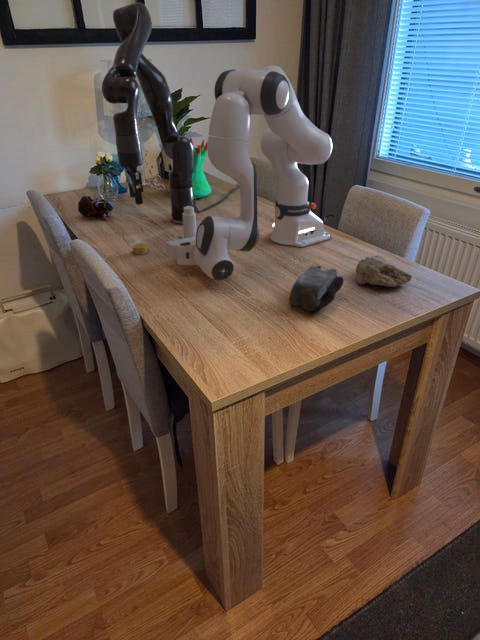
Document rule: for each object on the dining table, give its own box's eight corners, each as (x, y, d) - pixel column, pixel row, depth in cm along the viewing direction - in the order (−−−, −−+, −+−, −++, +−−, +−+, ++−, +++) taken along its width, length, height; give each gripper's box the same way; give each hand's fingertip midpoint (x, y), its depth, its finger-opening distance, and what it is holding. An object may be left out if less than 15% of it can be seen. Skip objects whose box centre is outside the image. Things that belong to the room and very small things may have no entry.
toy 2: (167, 190, 223) (163, 137, 210) (207, 188, 227) (205, 135, 214) (172, 202, 206) (167, 145, 193) (214, 199, 210) (213, 143, 197)
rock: (323, 321, 117) (326, 295, 113) (284, 311, 122) (285, 285, 118) (343, 292, 131) (347, 268, 127) (308, 284, 136) (310, 260, 132)
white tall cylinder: (183, 257, 153) (180, 209, 144) (187, 252, 156) (184, 205, 147) (195, 258, 152) (193, 210, 143) (199, 253, 156) (196, 205, 147)
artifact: (373, 298, 130) (414, 291, 135) (379, 276, 125) (421, 270, 130) (340, 268, 143) (378, 263, 148) (345, 247, 139) (384, 242, 144)
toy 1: (105, 189, 179) (76, 188, 184) (97, 209, 176) (68, 207, 182) (121, 206, 189) (93, 204, 195) (114, 225, 187) (85, 223, 192)
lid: (149, 250, 158) (149, 244, 157) (142, 255, 155) (141, 249, 153) (138, 248, 160) (137, 242, 159) (131, 253, 156) (130, 247, 155)
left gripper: (113, 146, 143) (121, 196, 152) (121, 154, 132) (129, 208, 140) (136, 144, 145) (142, 193, 154) (146, 152, 134) (153, 204, 143)
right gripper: (233, 236, 143) (217, 223, 153) (172, 247, 136) (160, 232, 146) (233, 255, 146) (217, 240, 157) (174, 265, 139) (161, 250, 150)
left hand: (136, 200), depth 147 cm, fingers open, 8 cm apart
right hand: (189, 236), depth 151 cm, fingers open, 7 cm apart
